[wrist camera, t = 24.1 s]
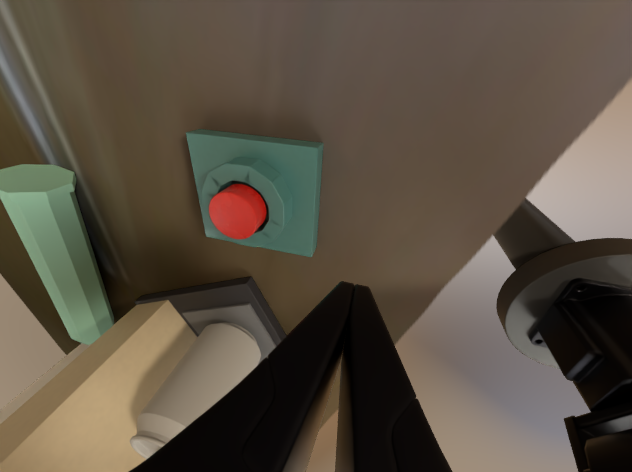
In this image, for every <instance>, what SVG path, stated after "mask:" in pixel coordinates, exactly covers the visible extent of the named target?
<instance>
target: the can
mask: <svg viewBox="0 0 632 472" xmlns="http://www.w3.org/2000/svg"><path fill="white" fill-rule="evenodd" d="M260 358H261V353H260V349H259V347H258V345H257V341H256V340H255V338H254V337H253V336H252V335H251V334H250V333H249V332H248V331H247V330H245V329H244V328H242V327H241V326H238V325H236V324H233V323H228V322H223V323H217V324H210V325H208V326H206V327H205V328H204V330H203V331H202V332H201V334H200V335H199V336H198V338H197V339H196V340H195V342H194V343H193V344H192V346H191V347H190V348H189V350H188V351H187V352H186V353H185V355H184V356H183V357H182V359H181V360H180V361H179V363H178V364H177V365H176V367H175V368H174V369H173V371H172V372H171V373H170V375H169V376H168V377H167V379H166V380H165V381H164V383H163V384H162V385H161V386H160V388H159V389H158V390H157V392H156V393H155V394H154V396H153V397H152V398H151V400H150V401H149V402H148V404H147V405H146V406H145V408H144V409H143V410H142V412H141V413H140V414H139V416H138V417H137V434H136V435H135V436H132V438H131V439H130V444H131V446H132V448H133V449H134V450H135V451H136V452H137V453H139V454H140V455H141V456H142V457H144V458H145V459H147V458H149V457H150V456H151V455H153V454H154V453H155V452H156V451H158V450H159V449H160V448H161V447H163V446H164V445H165V444H166V443H167V442H169V441H170V440H171V439H172V438H174V437H175V436H176V435H177V434H179V433H180V432H181V431H182V430H183V429H185V428H186V427H187V426H188V425H190V424H191V423H192V422H193V421H194V420H196V419H197V418H198V417H199V416H201V415H202V414H203V413H204V412H206V411H207V410H208V409H209V408H210V407H212V406H213V405H214V404H215V403H217V402H218V401H219V400H220V399H221V398H222V397H224V396H225V395H226V394H227V393H228V392H229V391H231V390H232V389H233V388H234V387H235V386H236V385H238V384H239V383H240V382H241V381H242V380H243V379H244V378H245V377H246V376H247V375H248V374H249V373H250V372H251V371H252V370H253V369H254V368H255V367H256V366H257V365H258V363H259V361H260Z"/></svg>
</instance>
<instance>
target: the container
mask: <svg viewBox="0 0 632 472" xmlns="http://www.w3.org/2000/svg"><path fill="white" fill-rule="evenodd" d="M75 185H76V176H75V173H74V172H72V171H70V170H67V169H64V168H62V167H59V166H56V165H33V164H21V165H17V166H13V167H9V168H5V169H1V170H0V198H1V200H2V202H3V204H4V206H5V208H6V210H7V212H8V214H9V216H10V218H11V220H12V222H13V224H14V226H15V228H16V230H17V232H18V234H19V236H20V238H21V240H22V242H23V244H24V246H25V248H26V250H27V252H28V254H29V256H30V258H31V260H32V262H33V264H34V266H35V268H36V270H37V272H38V274H39V276H40V278H41V280H42V282H43V284H44V285H45V287H46V289H47V291H48V293H49V295H50V297H51V299H52V301H53V303H54V305H55V307H56V309H57V311H58V313H59V315H60V317H61V319H62V321H63V323H64V325H65V327H66V329H67V331H68V333H69V335H70V337H71V339H73V340H76V341H78V342H81V343H83V344H86V345H89V344H92V343H94V342H95V341H96V340H97V339H98V338H99V337H100V336H102V335H103V334H104V333H105V332H106V331H107V330H108V329H110V328H111V327H112V326H113V325H114V316H113V313H112V310H111V306H110V303H109V300H108V297H107V294H106V291H105V287H104V284H103V281H102V278H101V275H100V272H99V268H98V265H97V262H96V259H95V256H94V252H93V249H92V246H91V243H90V240H89V237H88V233H87V230H86V227H85V224H84V221H83V218H82V214H81V211H80V208H79V205H78V202H77V199H76V195H75V192H74V191H75Z"/></svg>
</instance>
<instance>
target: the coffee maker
mask: <svg viewBox="0 0 632 472" xmlns="http://www.w3.org/2000/svg"><path fill="white" fill-rule="evenodd" d="M135 303H136V306H135V307H134V308H132V309H131V310H130V311H129V312H128V313H127V314H126V315H124V316H123V317H122V318H121V319H120V320H119V321H118V322H116V323H115V324H114V325H113V326H112V327H111V328H110V329H108V330H107V331H106V332H105V333H104V334H103V335H102V336H100V337H99V338H98V339H97V340H96V341H95V342H94V343H92V344H91V345H90V346H89V347H88V348H87V349H86V350H84V351H83V352H82V353H81V354H80V355H79V356H78V357H77V358H75V359H74V360H73V361H72V362H71V363H70V364H69V365H67V366H66V367H65V368H64V369H63V370H62V371H61V372H59V373H58V374H57V375H56V376H55V377H54V378H53V379H51V380H50V381H49V382H48V383H47V384H46V385H45V386H43V387H42V388H41V389H40V390H39V391H38V392H37V393H35V394H34V395H33V396H32V397H31V398H30V399H29V400H27V401H26V402H25V403H24V404H23V405H22V406H21V407H19V408H18V409H17V410H16V411H15V412H14V413H13V414H11V415H10V416H9V417H8V418H7V419H6V420H5V421H3V422H2V423H1V424H0V472H129V471H130V470H132V469H133V468H135V467H136V466H138V465H139V464H141V463H142V462H143V461H145V460H146V459H145V458H144V457H142V456H141V455H140V454H139V453H137V452H136V451H135V450H134V449H133V448H132V446H131V444H130V439H131V438H132V436H135V435H136V434H137V417H138V416H139V414H140V413H141V412H142V410H143V409H144V408H145V406H146V405H147V404H148V402H149V401H150V400H151V398H152V397H153V396H154V394H155V393H156V392H157V390H158V389H159V388H160V386H161V385H162V384H163V383H164V381H165V380H166V379H167V377H168V376H169V375H170V373H171V372H172V371H173V369H174V368H175V367H176V365H177V364H178V363H179V361H180V360H181V359H182V357H183V356H184V355H185V353H186V352H187V351H188V350H189V348H190V347H191V346H192V344H193V343H194V342H195V340H196V339H197V338H198V336H199V335H200V334H201V332H202V331H203V330H204V328H205V327H206V326H208V325H210V324H217V323H223V322H228V323H233V324H236V325H238V326H241V327H242V328H244V329H245V330H247V331H248V332H249V333H250V334H251V335H252V336H253V337H254V338H255V340H256V341H257V345H258V347H259V349H260V353H261V358H260V361H259V363H260V362H261V361H262V360H263V359H264V358H265V357H267V358H268V354H269V353H270V352H271V351H272V350H273V349H274V348H275V347H276V346H277V345H278V344H279V343H280V342H281V341H282V340H283V339H284V338H285V337H286V335H285V333H284V331H283V329H282V328H281V326H280V324H279V323H278V321H277V319H276V317H275V316H274V314H273V312H272V311H271V309H270V307H269V306H268V304H267V302H266V300H265V299H264V297H263V295H262V294H261V292H260V290H259V288H258V287H257V285H256V283H255V282H254V280H253V278H252V277H245V278H240V279H234V280H228V281H223V282H217V283H211V284H206V285H200V286H194V287H188V288H183V289H177V290H171V291H166V292H160V293H154V294H149V295H143V296H141V297H139V298H138V299H137V300H136V301H135ZM259 363H258V364H259Z"/></svg>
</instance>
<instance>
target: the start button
mask: <svg viewBox="0 0 632 472" xmlns="http://www.w3.org/2000/svg"><path fill="white" fill-rule="evenodd" d="M209 215H210V218H211V220H212V222H213V224H214V225H215V227H216V228H217V229H218V230H219V231H220V232H221V233H223V234H224V235H226V236H228V237H230V238H233V239H246V238H248V237H250V236H251V235H253V234H254V232H255V231H256V230H257V229H258V228H259V227H260V226H261V225H262V224H263V222H264V221H265V218H266V205H265V203H264V201H263V199H262V197H261V196H260V195H259V193H258V192H257V191H255V190H254V189H253V188H251V187H249V186H247V185H243V184H233V185H230V186H229V187H227V188H225V189H224V190H222V191H221V192H219V193H218V194H216V195H215V196H214V197H213V198H212V199H211V201H210V204H209Z"/></svg>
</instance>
